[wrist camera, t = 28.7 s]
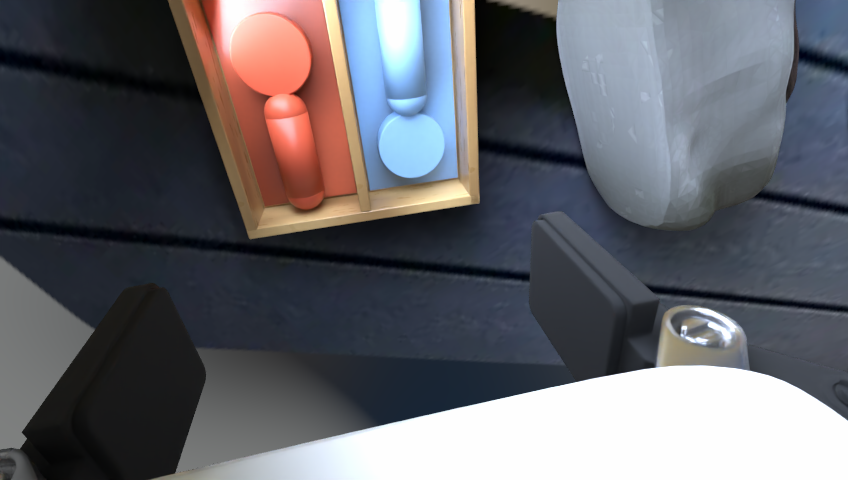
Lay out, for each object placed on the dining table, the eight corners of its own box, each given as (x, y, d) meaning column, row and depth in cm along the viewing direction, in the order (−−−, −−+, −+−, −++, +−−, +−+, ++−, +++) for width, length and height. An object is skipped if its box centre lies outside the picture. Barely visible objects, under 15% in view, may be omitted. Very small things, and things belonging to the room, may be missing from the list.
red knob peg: (224, 16, 21) (213, 18, 19) (303, 7, 21) (300, 8, 19) (279, 204, 26) (274, 221, 24) (341, 195, 26) (342, 210, 24)
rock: (739, 157, 31) (851, 202, 24) (594, 222, 32) (664, 283, 25) (736, -159, 22) (918, -231, 15) (531, -58, 22) (614, -83, 15)
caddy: (258, 214, 27) (249, 239, 24) (179, -35, 20) (153, -40, 17) (465, 182, 28) (479, 203, 25) (455, -60, 22) (473, -68, 19)
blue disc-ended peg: (442, 165, 27) (450, 178, 25) (381, 174, 26) (384, 188, 24) (429, -28, 21) (438, -30, 19) (353, -21, 21) (354, -23, 19)
